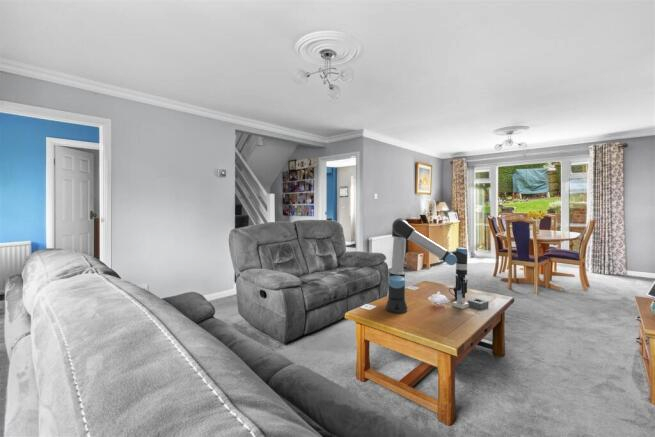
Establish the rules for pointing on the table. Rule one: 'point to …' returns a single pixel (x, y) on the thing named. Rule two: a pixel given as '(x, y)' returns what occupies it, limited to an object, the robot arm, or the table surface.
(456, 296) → the coffee mug
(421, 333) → the table surface
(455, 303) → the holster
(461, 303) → the plug
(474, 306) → the port block
